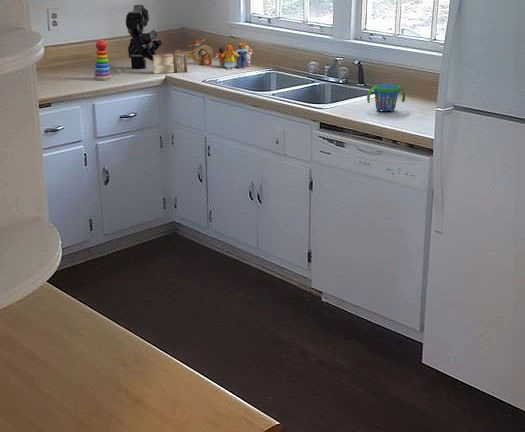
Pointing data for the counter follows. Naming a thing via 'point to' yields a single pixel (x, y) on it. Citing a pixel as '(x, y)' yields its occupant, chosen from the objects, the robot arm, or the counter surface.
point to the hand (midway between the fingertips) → (155, 60)
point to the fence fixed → (182, 62)
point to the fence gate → (165, 63)
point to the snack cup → (386, 96)
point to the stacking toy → (101, 62)
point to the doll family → (229, 60)
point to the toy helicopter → (195, 54)
